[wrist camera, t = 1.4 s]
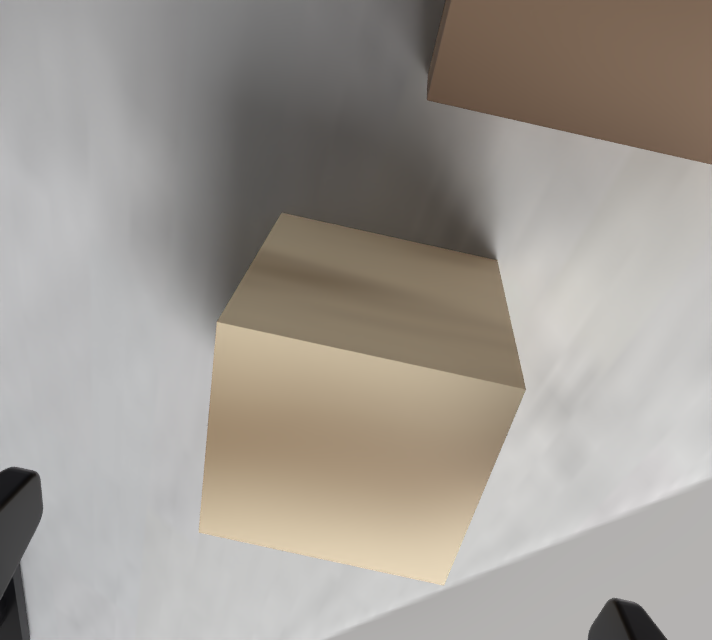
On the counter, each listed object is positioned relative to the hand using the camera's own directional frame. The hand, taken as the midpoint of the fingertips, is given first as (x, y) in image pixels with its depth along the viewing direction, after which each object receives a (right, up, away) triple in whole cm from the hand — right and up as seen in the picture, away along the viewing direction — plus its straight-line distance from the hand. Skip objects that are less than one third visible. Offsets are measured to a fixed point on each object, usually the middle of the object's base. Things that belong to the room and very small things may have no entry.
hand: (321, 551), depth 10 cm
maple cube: (+1, +3, +6) cm, 7 cm away
